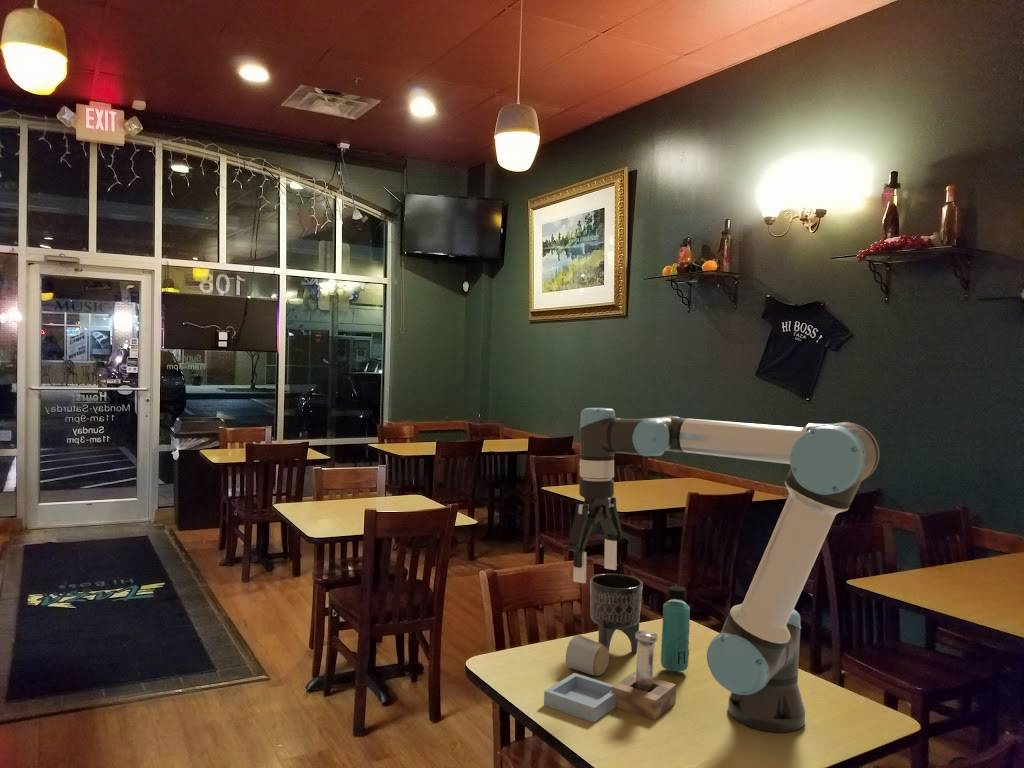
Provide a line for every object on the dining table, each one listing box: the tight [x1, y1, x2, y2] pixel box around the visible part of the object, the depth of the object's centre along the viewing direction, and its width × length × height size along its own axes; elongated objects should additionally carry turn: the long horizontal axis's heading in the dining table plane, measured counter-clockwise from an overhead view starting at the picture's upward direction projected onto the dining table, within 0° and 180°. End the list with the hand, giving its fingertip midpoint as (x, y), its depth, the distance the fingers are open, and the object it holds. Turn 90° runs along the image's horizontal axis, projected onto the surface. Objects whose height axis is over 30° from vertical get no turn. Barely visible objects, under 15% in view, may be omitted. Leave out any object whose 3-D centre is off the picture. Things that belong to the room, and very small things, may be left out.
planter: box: [589, 573, 643, 654], centre depth 190 cm, size 13×13×18 cm
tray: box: [543, 672, 616, 723], centre depth 161 cm, size 12×12×3 cm
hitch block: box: [612, 671, 677, 721], centre depth 162 cm, size 10×10×4 cm
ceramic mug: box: [565, 634, 610, 677], centre depth 179 cm, size 11×8×8 cm
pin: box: [635, 629, 658, 693], centre depth 162 cm, size 5×5×15 cm
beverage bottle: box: [660, 585, 691, 672], centre depth 179 cm, size 6×7×20 cm
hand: (595, 575), depth 168 cm, fingers open, 13 cm apart
